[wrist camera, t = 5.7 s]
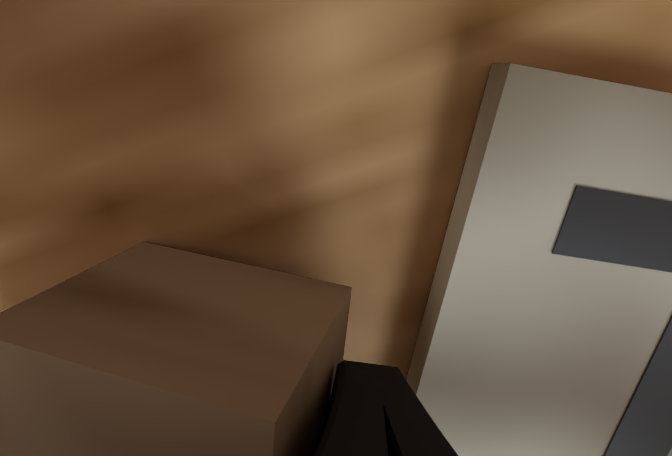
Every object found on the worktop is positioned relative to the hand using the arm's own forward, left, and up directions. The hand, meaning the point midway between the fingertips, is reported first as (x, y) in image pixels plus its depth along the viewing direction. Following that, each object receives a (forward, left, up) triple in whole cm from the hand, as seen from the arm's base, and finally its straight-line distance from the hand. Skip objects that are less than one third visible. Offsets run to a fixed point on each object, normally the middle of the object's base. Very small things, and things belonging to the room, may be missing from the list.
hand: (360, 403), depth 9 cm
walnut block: (-1, +3, -2) cm, 3 cm away
